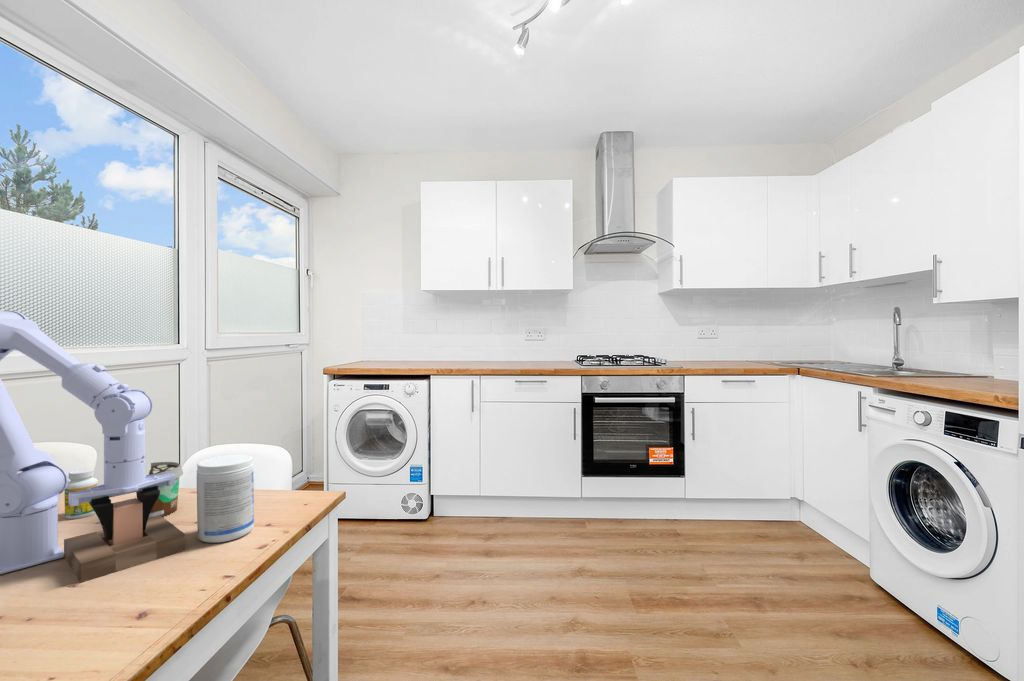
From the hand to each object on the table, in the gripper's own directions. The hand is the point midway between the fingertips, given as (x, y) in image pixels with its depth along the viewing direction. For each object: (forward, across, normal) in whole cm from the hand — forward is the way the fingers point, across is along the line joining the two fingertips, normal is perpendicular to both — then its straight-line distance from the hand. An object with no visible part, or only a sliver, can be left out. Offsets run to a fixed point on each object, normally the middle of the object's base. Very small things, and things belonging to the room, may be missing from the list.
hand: (125, 534), depth 82 cm
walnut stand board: (+3, 0, 0) cm, 3 cm away
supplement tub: (+4, +14, -5) cm, 16 cm away
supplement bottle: (+4, -1, +30) cm, 30 cm away
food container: (+4, +11, +18) cm, 21 cm away
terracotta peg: (+2, 0, 0) cm, 2 cm away
